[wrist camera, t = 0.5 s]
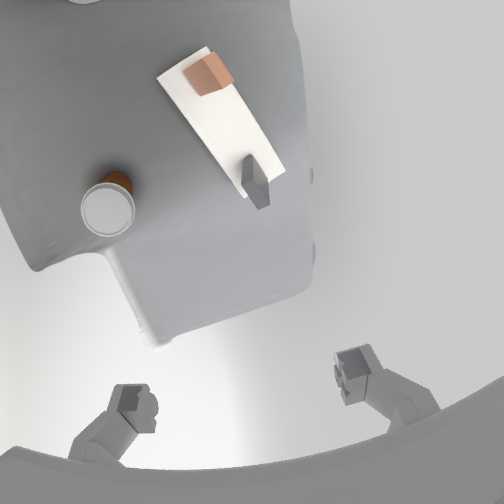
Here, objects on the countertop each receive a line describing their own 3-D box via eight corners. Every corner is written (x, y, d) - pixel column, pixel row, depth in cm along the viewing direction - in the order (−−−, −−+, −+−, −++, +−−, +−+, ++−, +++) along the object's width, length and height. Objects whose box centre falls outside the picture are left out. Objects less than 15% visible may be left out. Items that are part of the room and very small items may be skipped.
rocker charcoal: (257, 180, 51) (258, 209, 44) (242, 158, 48) (240, 184, 41) (267, 175, 50) (269, 204, 44) (253, 152, 48) (253, 178, 41)
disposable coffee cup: (137, 161, 51) (130, 181, 41) (142, 206, 56) (138, 236, 46) (90, 167, 48) (74, 189, 39) (97, 212, 54) (85, 242, 44)
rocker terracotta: (197, 97, 40) (223, 88, 33) (179, 72, 37) (201, 58, 30) (207, 90, 40) (234, 81, 33) (190, 66, 37) (214, 50, 30)
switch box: (234, 183, 59) (244, 198, 52) (158, 78, 43) (156, 78, 37) (272, 158, 58) (286, 170, 51) (201, 50, 43) (207, 45, 36)
